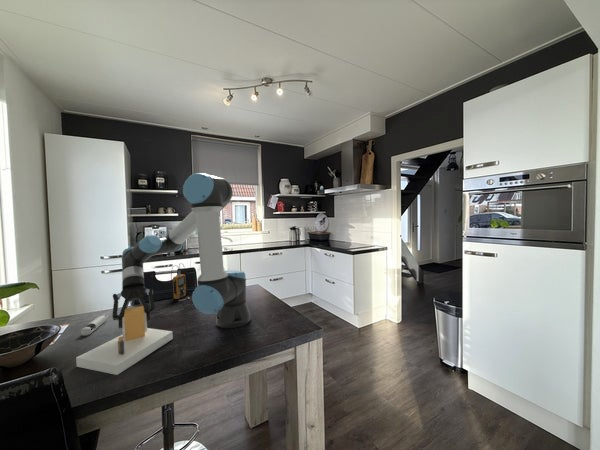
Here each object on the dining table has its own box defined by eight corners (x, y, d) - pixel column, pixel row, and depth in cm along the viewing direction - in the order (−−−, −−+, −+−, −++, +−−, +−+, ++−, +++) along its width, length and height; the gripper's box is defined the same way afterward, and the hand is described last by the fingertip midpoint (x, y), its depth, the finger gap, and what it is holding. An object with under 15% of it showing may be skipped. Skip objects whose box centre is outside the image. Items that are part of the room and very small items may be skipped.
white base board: (172, 338, 94) (172, 317, 94) (117, 374, 73) (115, 347, 73) (138, 333, 99) (137, 313, 98) (76, 366, 77) (75, 340, 77)
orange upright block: (144, 330, 95) (143, 305, 95) (145, 336, 91) (144, 310, 90) (125, 334, 92) (124, 308, 92) (125, 341, 87) (124, 314, 87)
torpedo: (91, 336, 97) (91, 320, 97) (77, 338, 96) (76, 322, 96) (112, 318, 115) (111, 305, 114) (100, 319, 113) (99, 306, 113)
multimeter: (184, 302, 134) (183, 267, 134) (168, 301, 136) (167, 266, 136) (200, 294, 149) (199, 262, 148) (186, 293, 151) (185, 261, 150)
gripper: (158, 280, 109) (164, 330, 96) (105, 288, 98) (103, 345, 85) (159, 271, 104) (165, 321, 91) (103, 278, 93) (100, 336, 80)
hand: (135, 333), depth 88 cm, fingers closed on orange upright block, 6 cm apart
